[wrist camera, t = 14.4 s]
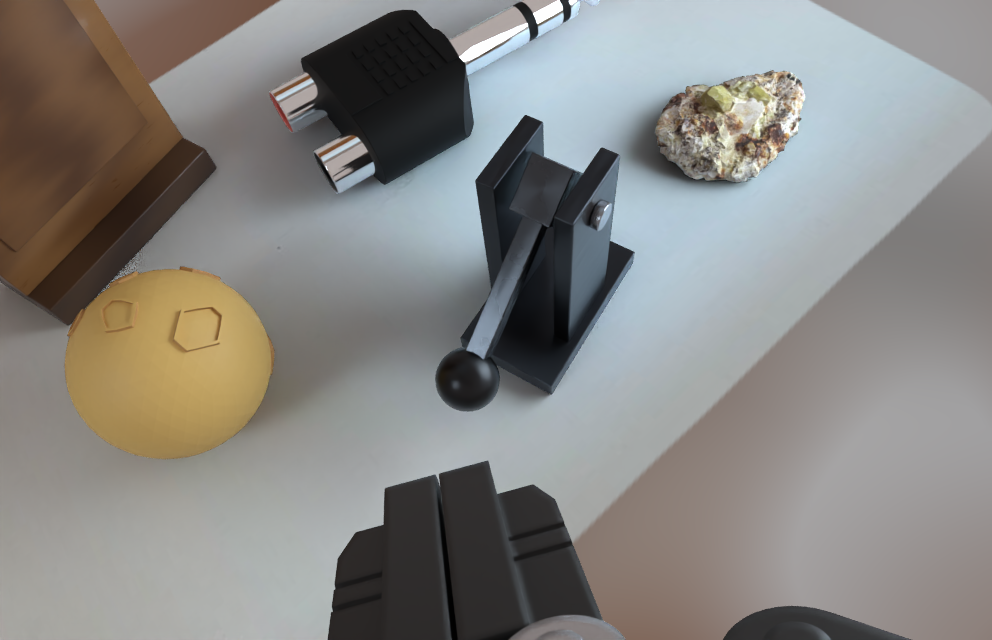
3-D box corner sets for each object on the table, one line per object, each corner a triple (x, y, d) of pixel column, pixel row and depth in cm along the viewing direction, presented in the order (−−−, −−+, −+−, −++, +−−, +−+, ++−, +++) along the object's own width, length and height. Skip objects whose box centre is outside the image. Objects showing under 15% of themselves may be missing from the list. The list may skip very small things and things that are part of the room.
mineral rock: (709, 193, 45) (642, 83, 46) (684, 220, 49) (624, 119, 51) (851, 125, 47) (784, 22, 49) (816, 157, 51) (755, 61, 53)
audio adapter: (251, 61, 49) (563, -98, 54) (278, 119, 53) (562, -33, 59) (332, 169, 44) (664, -17, 49) (353, 221, 49) (654, 47, 54)
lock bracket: (551, 395, 42) (550, 280, 31) (462, 346, 44) (430, 221, 33) (633, 262, 46) (659, 115, 35) (547, 222, 48) (545, 71, 36)
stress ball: (307, 451, 42) (241, 382, 33) (131, 504, 41) (16, 447, 32) (280, 301, 46) (216, 205, 38) (122, 346, 46) (18, 260, 37)
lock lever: (494, 416, 39) (469, 429, 36) (442, 387, 40) (414, 397, 37) (599, 180, 36) (582, 173, 33) (541, 155, 37) (519, 146, 34)
